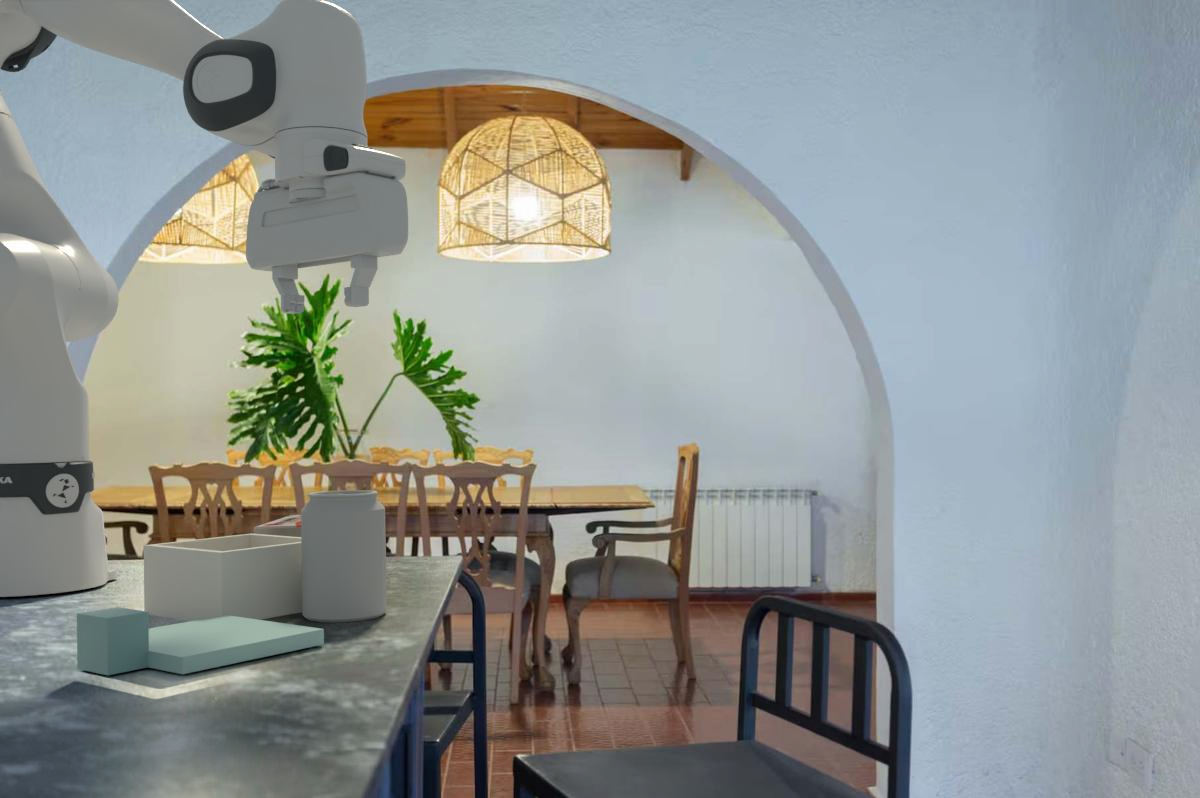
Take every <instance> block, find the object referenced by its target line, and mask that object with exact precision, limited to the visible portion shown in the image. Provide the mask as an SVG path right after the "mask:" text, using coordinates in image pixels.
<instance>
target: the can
mask: <svg viewBox="0 0 1200 798" xmlns="http://www.w3.org/2000/svg"><path fill="white" fill-rule="evenodd" d="M378 494H379V492H378V491H376V490H372V489H371V490H369V489H368V490H364V489H363V490H362V489H360V490H359V489H349V490H348V489H345V490H324V491H314V492H310V493H309V492H308V494H307V496H308V497H309V500H308V502H306V504H305V505H304V507H302V508H301V510H300V515H301V547H302V612H301V614H302V616H303V617H304V618H305V619H306V620H307V621H311V622H317V623H331V624H332V623H352V622H353V623H354V622H360V621H361V622H362V621H368V620H372V619H377V618H379V617H381V616H383V615H384V614H385V613H386V612H387V608H388V607H387V598H386V587H387V543H386V542H387V539H386V537H387V536H386V507H385V506H384V505H383V504H382V503H381V501H380V500H379V499H378V498H377V495H378Z"/></svg>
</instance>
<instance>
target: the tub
mask: <svg viewBox="0 0 1200 798" xmlns="http://www.w3.org/2000/svg"><path fill="white" fill-rule="evenodd" d="M143 582H144V583H143V595H144V596H143V600H144V601H143V602H144V603H143V604H144V605H143V608H144V609H143V611H146V612H148V616H151V617H157V618H163V619H164V618H165V619H171V620H176V621H177V620H178V621H184V622H189V621H195V620H201V619H207V618H212V617H218V616H224V615H230V616H237V617H244V618H251V619H258V620H267V619H268V620H269V619H272V618H277V617H282V616H283V617H284V616H288V615H289V616H290V615H294V614H302V547H301V537H291V536H278V535H265V534H254V533H245V534H243V533H242V534H235V535H225V536H218V537H216V536H215V537H208V538H199V539H190V540H180V541H171V542H163V543H162V542H160V543H154V544H145V545H143Z"/></svg>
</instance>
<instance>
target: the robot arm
mask: <svg viewBox="0 0 1200 798" xmlns="http://www.w3.org/2000/svg"><path fill="white" fill-rule="evenodd" d="M57 37H60V38H62V39H64V40H66V41H69V42H70V43H73V44H76V45H78V46H81V47H84V48H87V49H90V50H92V51H95V52H97V53H98V52H99V53H101V54H104V55H107V56H110V57H111V56H112V57H114V58H117V59H120V60H124V61H127V62H130V63H134V64H137V65H140V66H143V67H147V68H149V69H153V70H155V71H158V72H162V73H163V74H166V75H169V76H170V77H171V76H172V77H174V78H176V79H178V80H180V81H182V82H183V85H182V95H183V100H184V104H185V105H184V106H185V107H186V110H187V112H188V115H189V116H190V118H191V120H192V121H193V122H194V123H195V124H196V125H197V126H198V127H200V128H202V129H203V130H205V131H207V132H209V133H211V134H212V135H215V136H216V137H218V138H219V137H220V138H221V139H224V140H227V141H230V142H233V143H235V144H238V145H240V146H242V147H245V148H248V149H251V150H254V151H257V152H259V153H262V154H265V155H267V156H269V157H270V158H273V159H274V170H275V171H274V179H273V178H268V179H265V180H264V181H262V182H261V185H260V186H259V188H258V189H257V191H256V192H255V193H254V195H253V200H252V201H251V204H250V207H249V211H248V218H247V227H246V240H245V241H246V243H245V259H246V262H247V263H248V265H249V267H250V268H251V269H252V270H256V271H262V272H263V271H264V272H271V276H272V277H271V278H272V281H273V284H274V286H275V288H276V290H277V292H278V293H279V296H280V310H281V312H282V313H283V314H289V315H291V314H293V315H294V314H302V313H304V311H305V295H302V294H299V291H298V288H297V285H296V281H295V280H298V278H299V269H304V268H311V267H319V266H326V265H327V266H328V265H332V264H339V263H347V262H350V268H351V269H354V272H353V274H352V277H351V281H350V284H349V286H348V287H343V289H344V290H343V291H344V292H343V294H344V299H343V300H344V301H343V302H344V305H345V306H346V307H349V308H351V307H353V308H359V307H361V308H362V307H367V306H368V305H369V304H370V297H369V296H370V294H369V293H370V289H369V288H370V287H371V285H372V282H373V281H374V278H375V277H376V276H375V275H376V273H377V271H378V258H383V257H389V256H391V257H392V256H397V255H401V254H402V253H403V251H404V249H405V248H406V245H407V243H408V240H409V239H408V238H409V207H408V198H407V197H408V196H407V192H406V191H407V190H406V189H405V185H404V184H403V183H402V182H401V180H403V179H404V178H405V176H406V170H407V169H406V168H407V167H406V161H405V159H404V158H403V157H401V156H398V155H396V154H392V153H388V152H384V151H380V150H375V149H374V148H373V147H371V146H368V138H369V137H368V132H367V128H366V126H365V121H364V108H365V104H366V101H367V95H368V90H367V89H368V88H367V87H368V86H367V85H368V82H367V65H366V64H367V62H366V53H365V52H366V51H365V45H364V37H363V33H362V30H361V27H360V23H359V22H358V20H357V19H356V18H355V16H353V15H352V14H351V13H350V12H348V11H347V10H345V9H344V8H342V7H340V6H338V5H336V4H335V3H333V2H329V1H325V0H281V1H280V2H279V3H278V4H277V5H276V6H275V8H274V10H273V11H272V13H270V14H269V15H268V16H267V17H266V18H265V19H264V20H263V21H261V22H260V23H258V24H256V25H255V26H253V27H251V28H248V29H247V30H246V31H243V32H241V33H239V34H236V35H233V36H232V37H229V38H225V37H222V36H221V35H219V34H218V33H216V32H215V31H213V30H211V29H209V28H208V27H207V26H205V25H204V24H202V23H201V22H200V21H199V20H197V19H196V18H195V17H194V16H193V15H191V14H189V12H187V11H186V10H185V9H184V8H183V7H181V6H180V4H178V3H177V2H176V1H175V0H0V71H1V70H2V71H4V72H9V73H17V72H21V71H23V70H24V69H26V68H27V66H28V64H29V63H30V61H31V60H33V59H34V58H36V57H38V56H40V55H42V54H43V53H44V52H45V51H47V49H49V47H50V46H51V45H52V44H53V42H54V41H55V40H56V38H57ZM15 66H17V67H15ZM119 299H120V297H119V290H118V287H117V284H116V282H115V280H114V278H113V276H112V275H111V274H110V273H109V272H108V270H107V269H106V268H104V266H102V265H101V264H100V262H99V261H98V260H97V259H96V258H95V257H94V255H93V254H92V253H91V251H90V250H89V248H87V246H86V245H85V243H84V241H83V240H82V238H81V237H80V235H79V234H78V232H77V230H76V229H75V227H74V226H73V225H72V223H71V221H70V220H69V219H68V218H67V216H66V214H65V213H64V212H63V211H62V209H61V207H60V206H59V205H58V204H57V202H56V201H55V199H54V198H53V196H52V194H51V193H50V191H49V190H48V189H47V186H46V184H45V183H44V180H43V179H42V178H41V175H40V173H39V172H38V170H37V167H36V165H35V163H34V160H33V159H32V157H31V155H30V152H29V150H28V148H27V145H26V143H25V141H24V139H23V137H22V134H21V132H20V130H19V128H18V125H17V123H16V122H15V119H14V117H13V115H12V113H11V111H10V108H9V106H8V105H7V103H6V101H5V98H4V96H3V93H2V91H1V89H0V598H7V597H26V596H39V595H50V594H61V593H68V592H75V591H81V590H86V589H87V590H88V589H91V588H96V587H101V586H104V585H106V584H107V582H108V581H112V580H115V579H118V571H117V569H116V568H114V569H113V568H109V562H108V552H107V541H106V539H107V538H106V530H105V519H104V513H103V511H102V509H101V508H100V507H99V506H98V505H97V504H96V503H95V502H94V500H93V498H92V495H91V493H92V492H93V491H94V489H95V483H94V481H95V480H94V479H95V477H96V476H95V471H94V462H93V461H92V460H90V435H89V434H90V432H89V430H90V429H89V427H90V426H89V425H90V423H89V418H90V417H89V395H88V392H87V389H86V386H85V384H84V383H83V382H82V380H80V377H78V374H77V372H76V370H75V366H74V365H73V361H72V358H71V355H70V351H69V347H68V343H71V342H75V341H79V340H83V339H86V338H90V337H91V336H92V337H93V336H95V335H97V334H99V333H101V332H103V330H105V329H106V328H107V327H108V326H109V325H110V324H111V323H112V321H113V320H114V318H115V317H116V314H117V311H118V307H119Z"/></svg>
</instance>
